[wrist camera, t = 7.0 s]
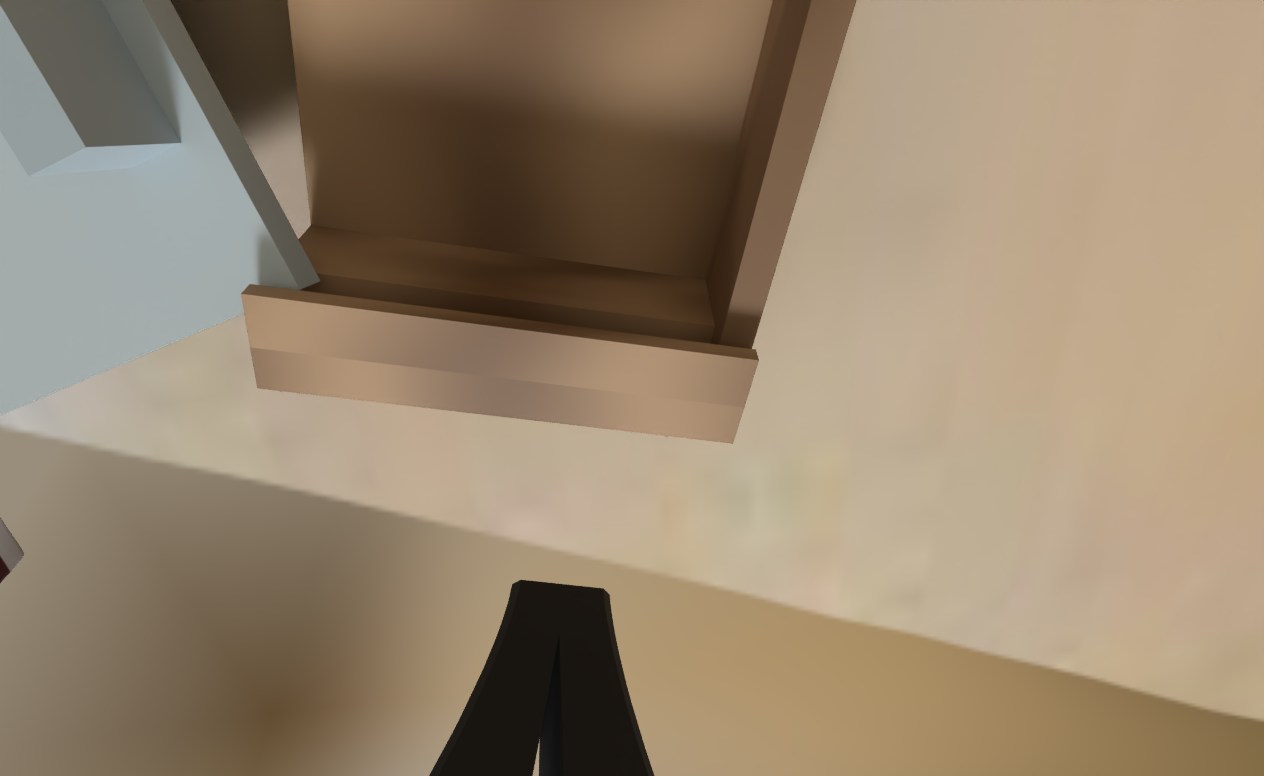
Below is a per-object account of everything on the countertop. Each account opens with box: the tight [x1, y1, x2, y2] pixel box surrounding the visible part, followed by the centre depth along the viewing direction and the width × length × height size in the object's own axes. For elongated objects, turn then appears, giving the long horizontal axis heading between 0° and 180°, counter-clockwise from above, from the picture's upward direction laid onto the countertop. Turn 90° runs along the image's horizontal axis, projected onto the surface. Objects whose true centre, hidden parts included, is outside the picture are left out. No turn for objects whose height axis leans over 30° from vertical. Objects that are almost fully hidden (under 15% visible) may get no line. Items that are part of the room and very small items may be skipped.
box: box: [241, 0, 856, 444], centre depth 13 cm, size 10×14×4 cm
